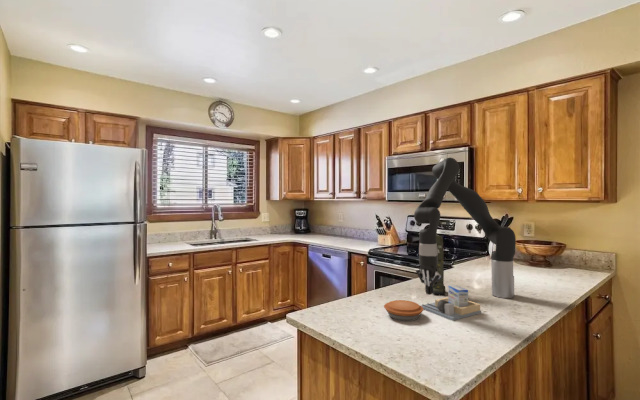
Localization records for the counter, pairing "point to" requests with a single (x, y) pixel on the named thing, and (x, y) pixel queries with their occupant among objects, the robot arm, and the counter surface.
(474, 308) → the chassis
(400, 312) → the pie
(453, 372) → the counter surface
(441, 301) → the wheel
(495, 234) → the robot arm
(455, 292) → the medicine box
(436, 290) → the mechanical leg
